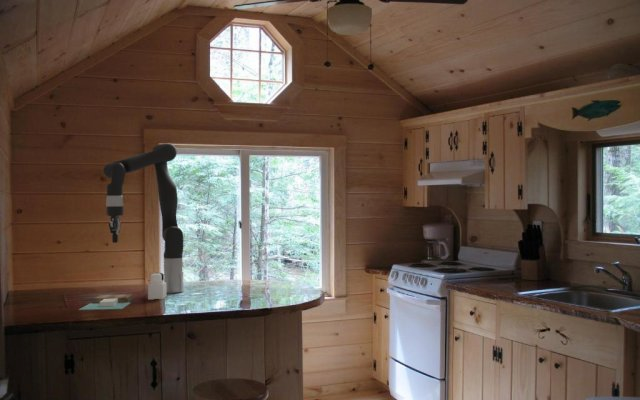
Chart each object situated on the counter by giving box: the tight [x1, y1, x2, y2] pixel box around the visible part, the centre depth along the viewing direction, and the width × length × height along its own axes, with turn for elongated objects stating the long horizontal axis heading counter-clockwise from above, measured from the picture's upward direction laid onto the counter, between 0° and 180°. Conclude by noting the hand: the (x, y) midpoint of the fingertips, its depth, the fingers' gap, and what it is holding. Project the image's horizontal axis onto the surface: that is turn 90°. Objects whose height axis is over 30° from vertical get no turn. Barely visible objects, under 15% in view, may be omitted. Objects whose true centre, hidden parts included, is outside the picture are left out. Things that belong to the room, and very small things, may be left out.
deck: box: [93, 293, 134, 303], centre depth 289 cm, size 15×10×2 cm, turn 94°
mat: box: [78, 301, 132, 311], centre depth 276 cm, size 18×16×1 cm
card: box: [100, 298, 118, 306], centre depth 279 cm, size 9×6×2 cm, turn 7°
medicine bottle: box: [147, 272, 168, 301], centre depth 297 cm, size 7×7×12 cm
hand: (115, 242), depth 293 cm, fingers closed
